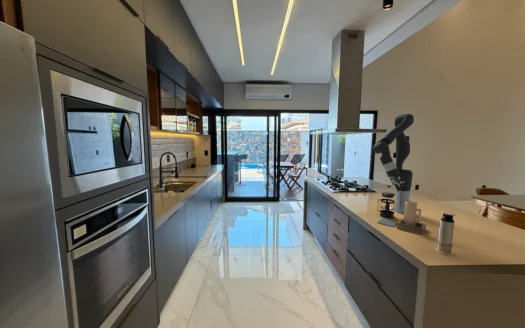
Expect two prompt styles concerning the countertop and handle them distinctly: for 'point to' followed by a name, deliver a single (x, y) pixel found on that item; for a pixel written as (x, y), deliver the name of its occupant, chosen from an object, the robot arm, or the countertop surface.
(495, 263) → the countertop surface
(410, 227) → the wooden tray
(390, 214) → the french press
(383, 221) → the mat
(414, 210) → the jug
